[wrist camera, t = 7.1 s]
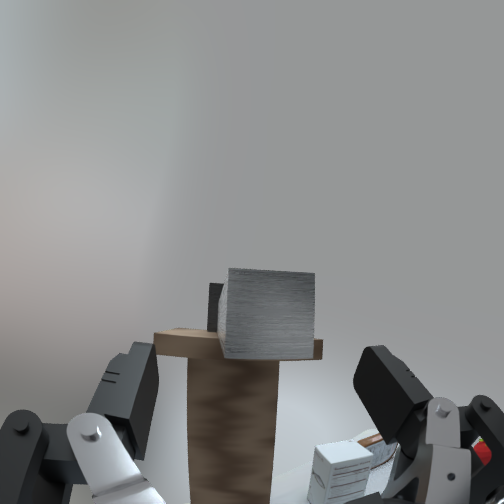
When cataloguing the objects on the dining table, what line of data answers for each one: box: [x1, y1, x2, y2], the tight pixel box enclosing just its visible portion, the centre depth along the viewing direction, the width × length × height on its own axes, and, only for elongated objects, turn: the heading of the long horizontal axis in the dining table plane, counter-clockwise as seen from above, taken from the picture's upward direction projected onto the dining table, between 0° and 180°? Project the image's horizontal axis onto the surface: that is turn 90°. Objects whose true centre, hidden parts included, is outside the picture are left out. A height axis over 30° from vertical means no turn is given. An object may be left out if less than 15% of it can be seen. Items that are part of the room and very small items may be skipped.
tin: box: [357, 433, 398, 470], centre depth 41 cm, size 15×3×8 cm, turn 111°
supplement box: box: [307, 439, 374, 504], centre depth 30 cm, size 7×7×13 cm
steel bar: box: [207, 268, 315, 359], centre depth 20 cm, size 5×23×5 cm, turn 8°
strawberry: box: [473, 439, 491, 465], centre depth 24 cm, size 6×8×10 cm
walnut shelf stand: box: [153, 328, 323, 504], centre depth 21 cm, size 12×14×32 cm
